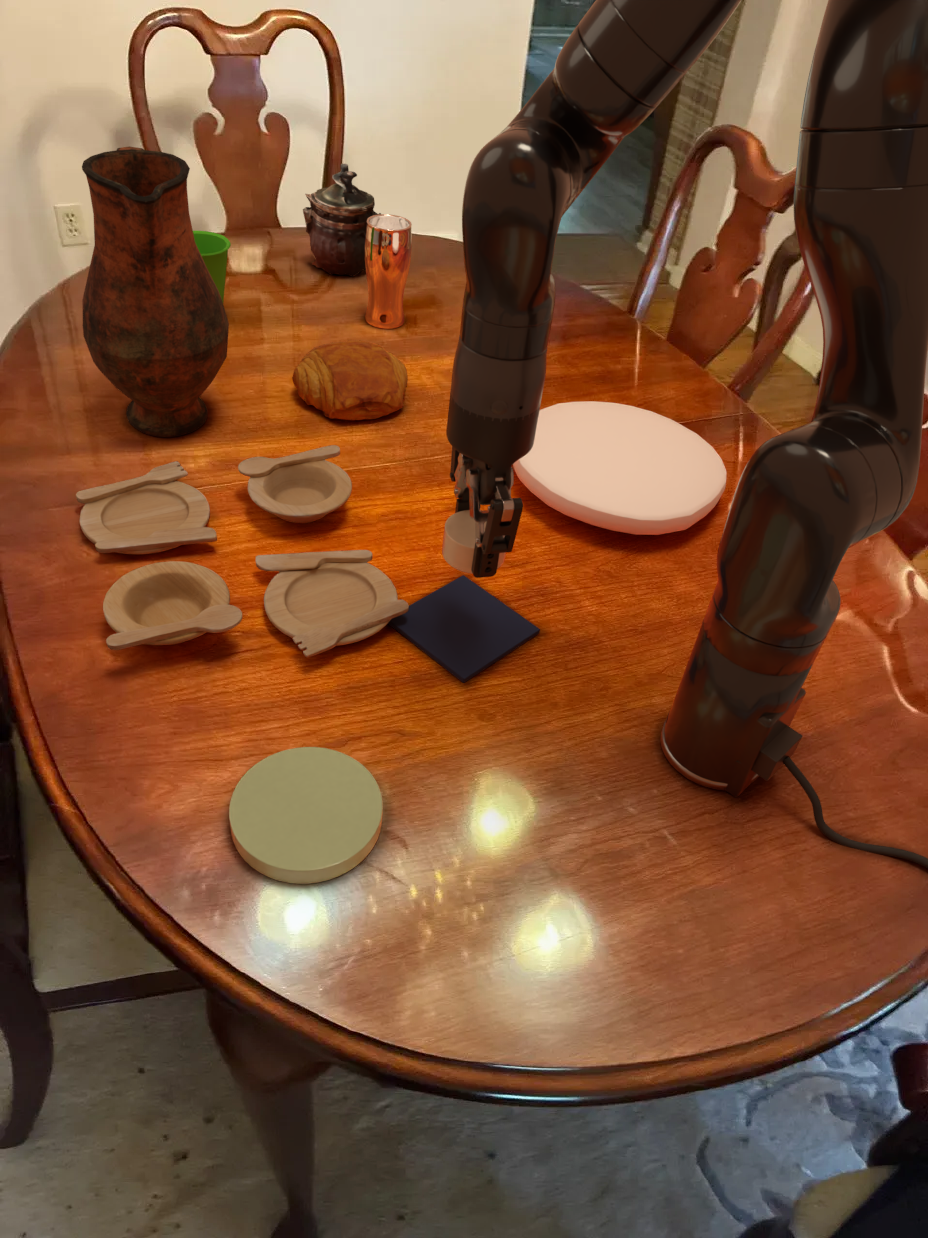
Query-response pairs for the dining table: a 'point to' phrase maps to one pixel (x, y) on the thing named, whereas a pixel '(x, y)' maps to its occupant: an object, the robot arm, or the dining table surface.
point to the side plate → (305, 815)
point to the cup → (214, 256)
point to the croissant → (351, 380)
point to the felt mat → (463, 628)
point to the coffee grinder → (339, 224)
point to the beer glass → (387, 268)
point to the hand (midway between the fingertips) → (473, 551)
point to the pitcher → (151, 292)
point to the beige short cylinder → (461, 542)
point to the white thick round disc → (621, 468)
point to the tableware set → (296, 597)
